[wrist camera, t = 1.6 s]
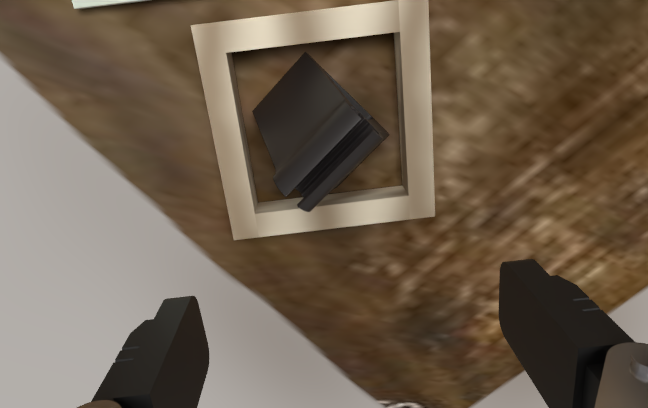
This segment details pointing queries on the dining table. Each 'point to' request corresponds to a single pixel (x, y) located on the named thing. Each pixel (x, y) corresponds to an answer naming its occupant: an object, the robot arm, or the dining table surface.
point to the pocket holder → (305, 27)
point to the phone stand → (314, 132)
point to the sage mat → (99, 3)
